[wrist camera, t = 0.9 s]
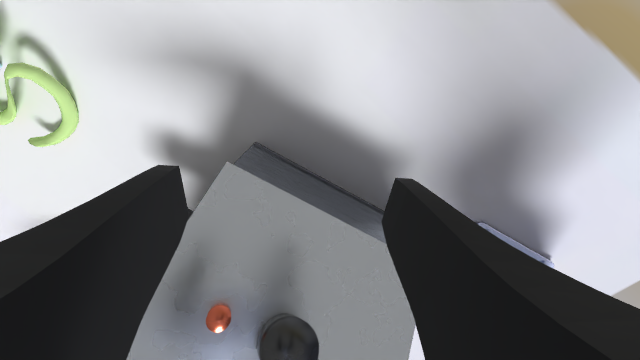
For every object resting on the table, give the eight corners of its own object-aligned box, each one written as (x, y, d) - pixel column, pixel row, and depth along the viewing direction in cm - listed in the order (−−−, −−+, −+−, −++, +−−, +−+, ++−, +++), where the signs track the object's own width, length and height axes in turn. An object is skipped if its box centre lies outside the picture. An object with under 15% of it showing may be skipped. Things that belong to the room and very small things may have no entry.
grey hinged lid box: (401, 220, 26) (416, 264, 21) (323, 312, 33) (319, 363, 28) (210, 117, 23) (170, 136, 18) (166, 240, 30) (127, 281, 25)
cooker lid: (419, 266, 21) (447, 264, 18) (351, 566, 14) (381, 636, 11) (226, 166, 19) (226, 148, 16) (30, 468, 12) (-29, 527, 9)
